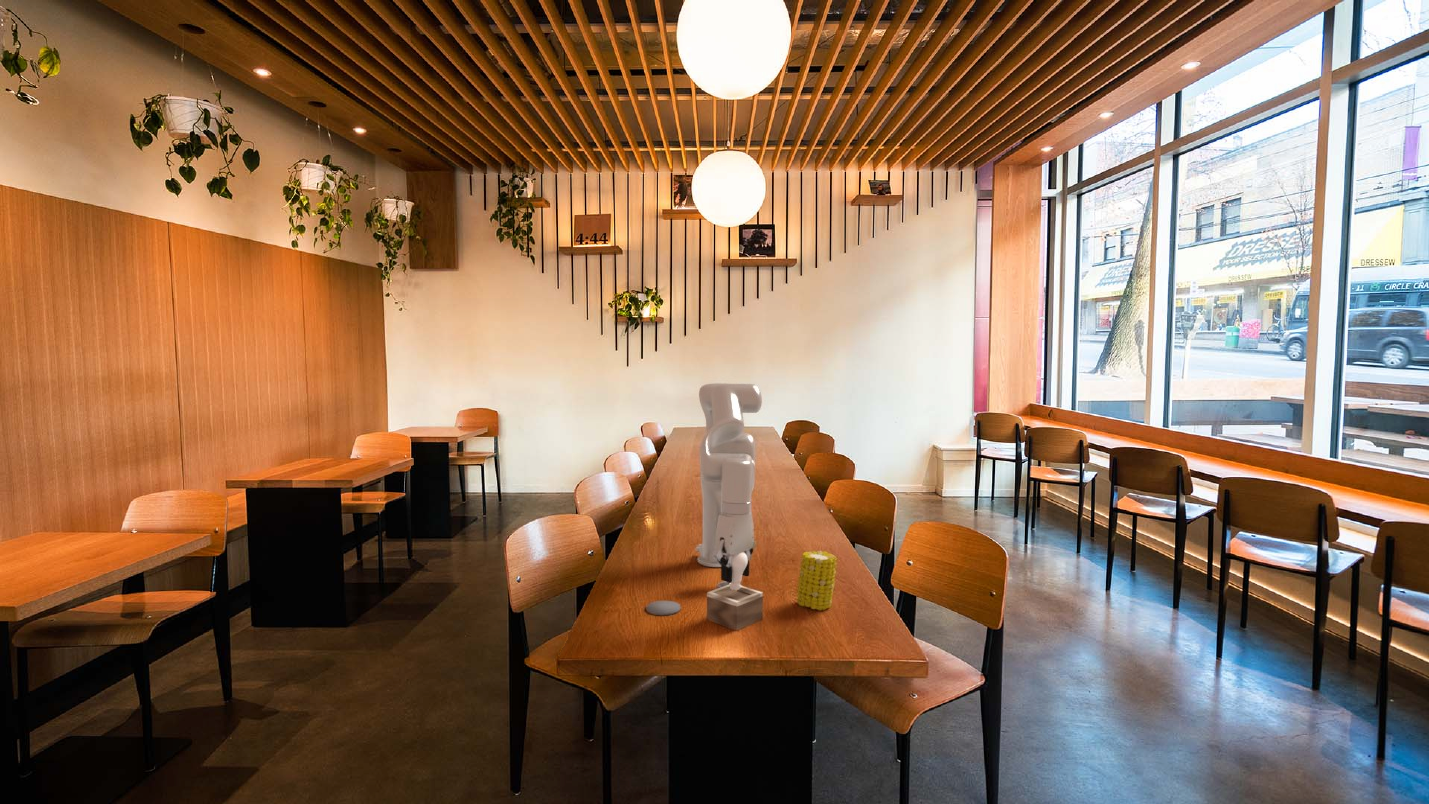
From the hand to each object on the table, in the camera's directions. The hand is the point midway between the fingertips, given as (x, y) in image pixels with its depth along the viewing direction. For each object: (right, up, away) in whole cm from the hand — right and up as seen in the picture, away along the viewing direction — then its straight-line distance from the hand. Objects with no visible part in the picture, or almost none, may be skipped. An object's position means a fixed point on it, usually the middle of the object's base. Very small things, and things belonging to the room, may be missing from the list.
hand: (735, 577), depth 168 cm
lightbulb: (0, -4, 0) cm, 4 cm away
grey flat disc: (-19, -10, +7) cm, 22 cm away
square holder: (0, -11, +1) cm, 11 cm away
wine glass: (-1, -9, +26) cm, 28 cm away
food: (+22, -11, +11) cm, 27 cm away
